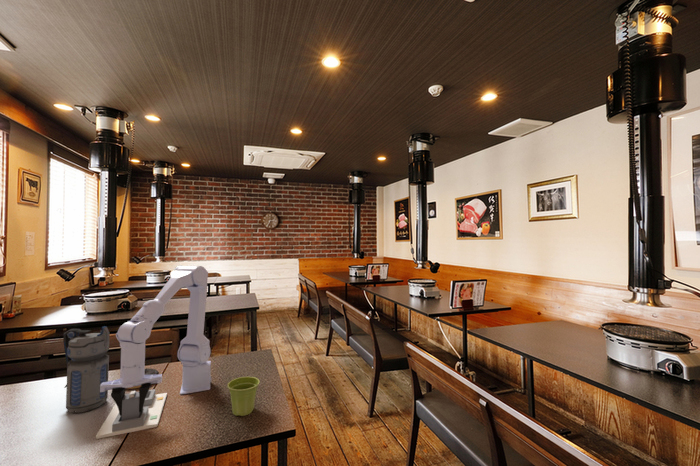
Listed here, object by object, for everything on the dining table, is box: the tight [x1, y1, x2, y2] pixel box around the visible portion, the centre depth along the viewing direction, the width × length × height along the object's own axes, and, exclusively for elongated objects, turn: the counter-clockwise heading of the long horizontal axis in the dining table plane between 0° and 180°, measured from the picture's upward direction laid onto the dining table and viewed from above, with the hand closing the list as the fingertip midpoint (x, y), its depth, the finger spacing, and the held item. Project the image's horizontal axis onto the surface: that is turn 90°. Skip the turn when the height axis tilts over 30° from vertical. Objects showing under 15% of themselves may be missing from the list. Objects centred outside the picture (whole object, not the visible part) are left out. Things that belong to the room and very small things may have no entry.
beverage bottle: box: [62, 325, 111, 414], centre depth 99 cm, size 10×13×25 cm
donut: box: [125, 367, 160, 390], centre depth 115 cm, size 11×12×4 cm
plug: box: [122, 390, 142, 421], centre depth 89 cm, size 4×4×8 cm
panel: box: [95, 388, 168, 440], centre depth 94 cm, size 14×20×3 cm
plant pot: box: [227, 376, 260, 417], centre depth 96 cm, size 9×9×9 cm
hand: (131, 412), depth 89 cm, fingers closed on plug, 4 cm apart
